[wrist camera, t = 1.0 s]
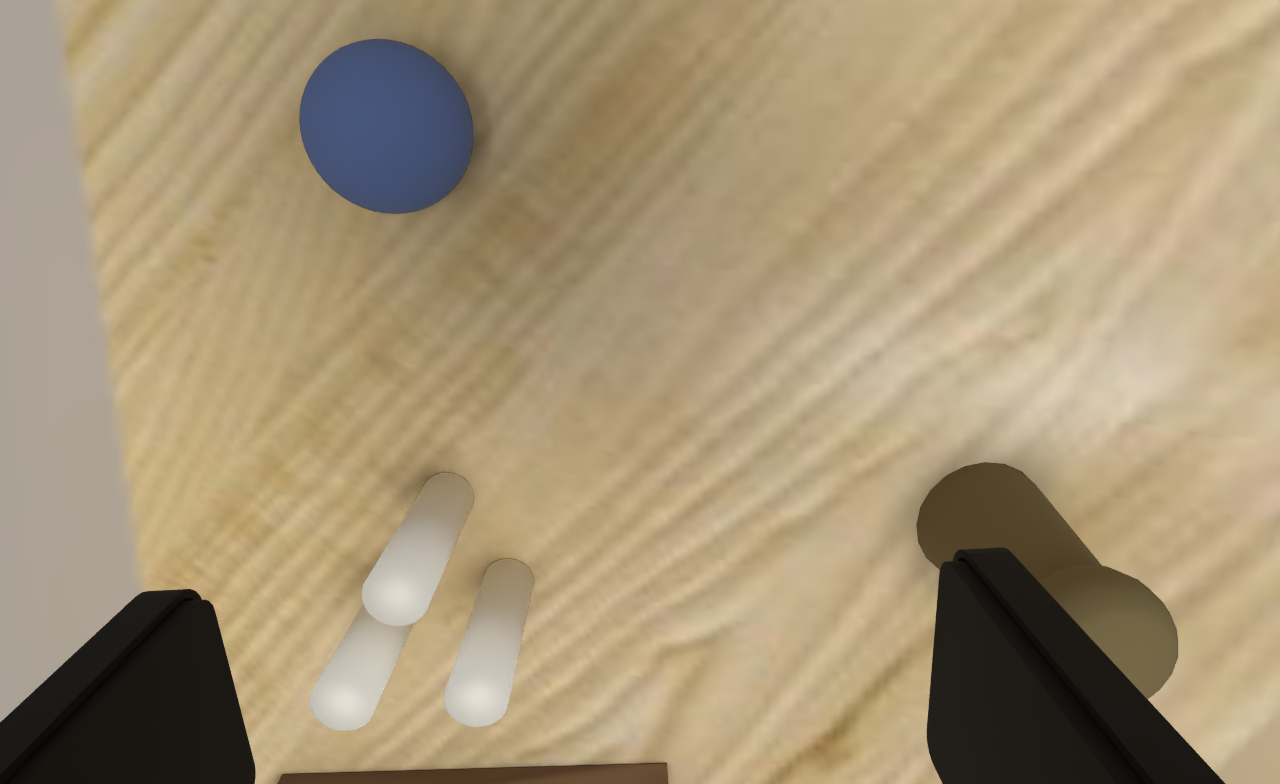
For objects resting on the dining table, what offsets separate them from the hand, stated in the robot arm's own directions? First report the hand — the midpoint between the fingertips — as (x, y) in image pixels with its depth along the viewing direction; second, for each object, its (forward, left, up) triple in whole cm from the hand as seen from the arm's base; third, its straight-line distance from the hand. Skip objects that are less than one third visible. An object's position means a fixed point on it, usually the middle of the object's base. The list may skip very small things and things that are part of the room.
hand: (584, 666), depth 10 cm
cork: (+11, +17, -25) cm, 32 cm away
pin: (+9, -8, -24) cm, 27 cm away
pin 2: (+13, -5, -24) cm, 28 cm away
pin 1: (+13, -10, -24) cm, 30 cm away
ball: (-7, -8, -21) cm, 24 cm away
